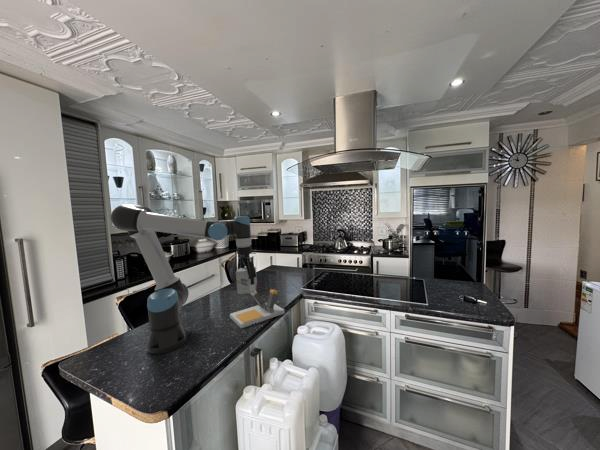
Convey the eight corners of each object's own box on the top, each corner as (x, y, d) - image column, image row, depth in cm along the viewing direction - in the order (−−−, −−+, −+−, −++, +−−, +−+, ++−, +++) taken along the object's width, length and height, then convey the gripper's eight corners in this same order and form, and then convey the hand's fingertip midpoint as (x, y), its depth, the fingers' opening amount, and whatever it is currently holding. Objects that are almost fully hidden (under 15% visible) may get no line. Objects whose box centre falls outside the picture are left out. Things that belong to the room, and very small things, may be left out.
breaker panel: (241, 328, 119) (240, 320, 119) (230, 317, 132) (229, 309, 132) (284, 313, 134) (284, 305, 133) (270, 304, 147) (270, 297, 146)
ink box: (242, 288, 132) (240, 266, 131) (258, 287, 131) (256, 266, 130) (236, 294, 123) (235, 271, 122) (253, 293, 122) (251, 270, 122)
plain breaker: (262, 307, 138) (252, 293, 135) (259, 305, 142) (249, 291, 138) (265, 304, 140) (255, 290, 136) (262, 302, 143) (252, 288, 139)
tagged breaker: (268, 311, 131) (273, 290, 132) (264, 309, 134) (270, 289, 135) (272, 311, 132) (277, 291, 134) (269, 309, 135) (274, 289, 137)
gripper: (261, 247, 118) (264, 291, 119) (242, 243, 137) (245, 281, 139) (246, 249, 113) (250, 295, 115) (229, 245, 133) (232, 284, 134)
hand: (247, 287), depth 127 cm, fingers closed on ink box, 11 cm apart
